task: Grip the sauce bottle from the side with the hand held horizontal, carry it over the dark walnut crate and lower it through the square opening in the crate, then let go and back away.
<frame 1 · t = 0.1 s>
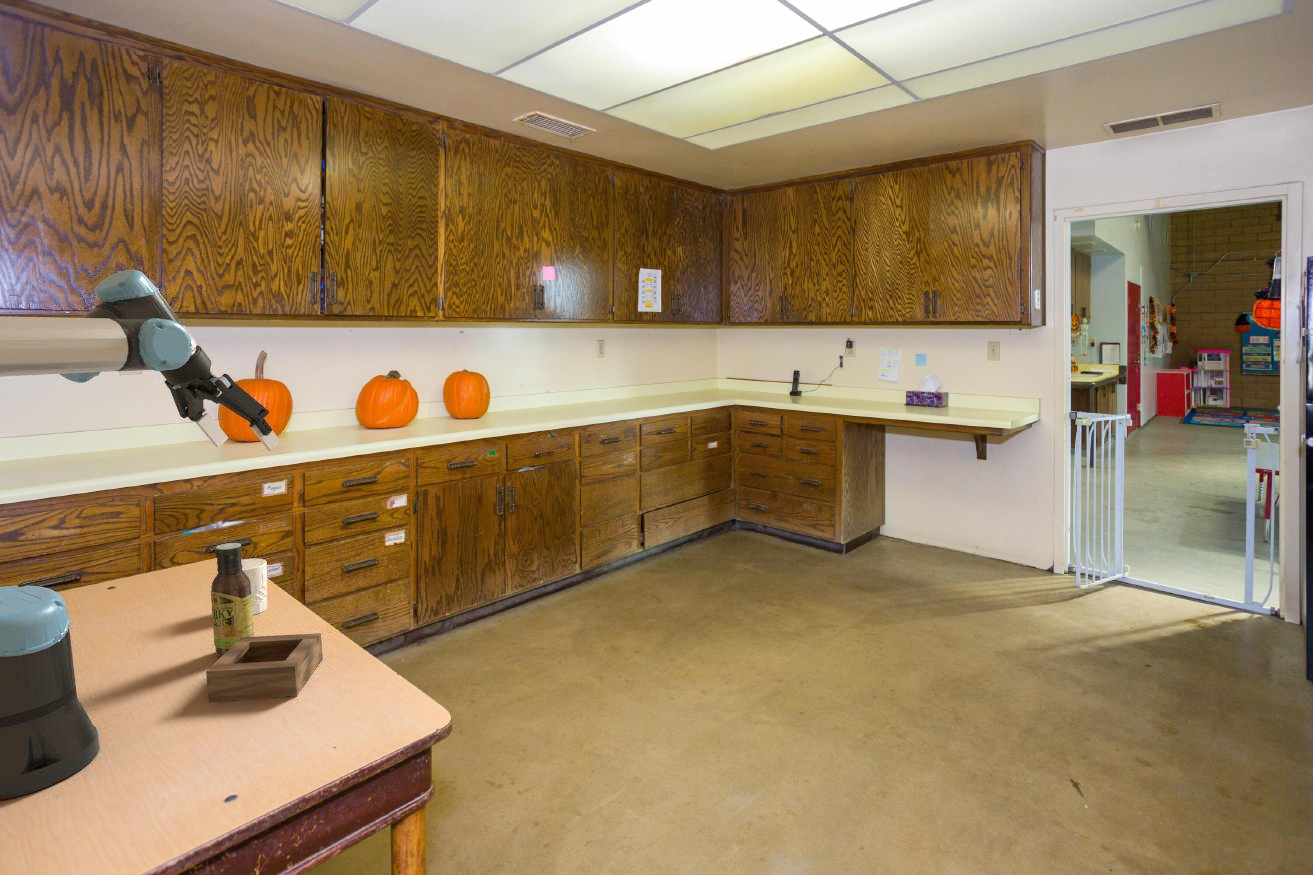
hand: (248, 444, 140), 36 cm above the table, tool tilted 35°, fingers open, 13 cm apart
crate: (269, 679, 121), on the table
white cup: (248, 611, 151), on the table
sauce bottle: (236, 653, 132), on the table
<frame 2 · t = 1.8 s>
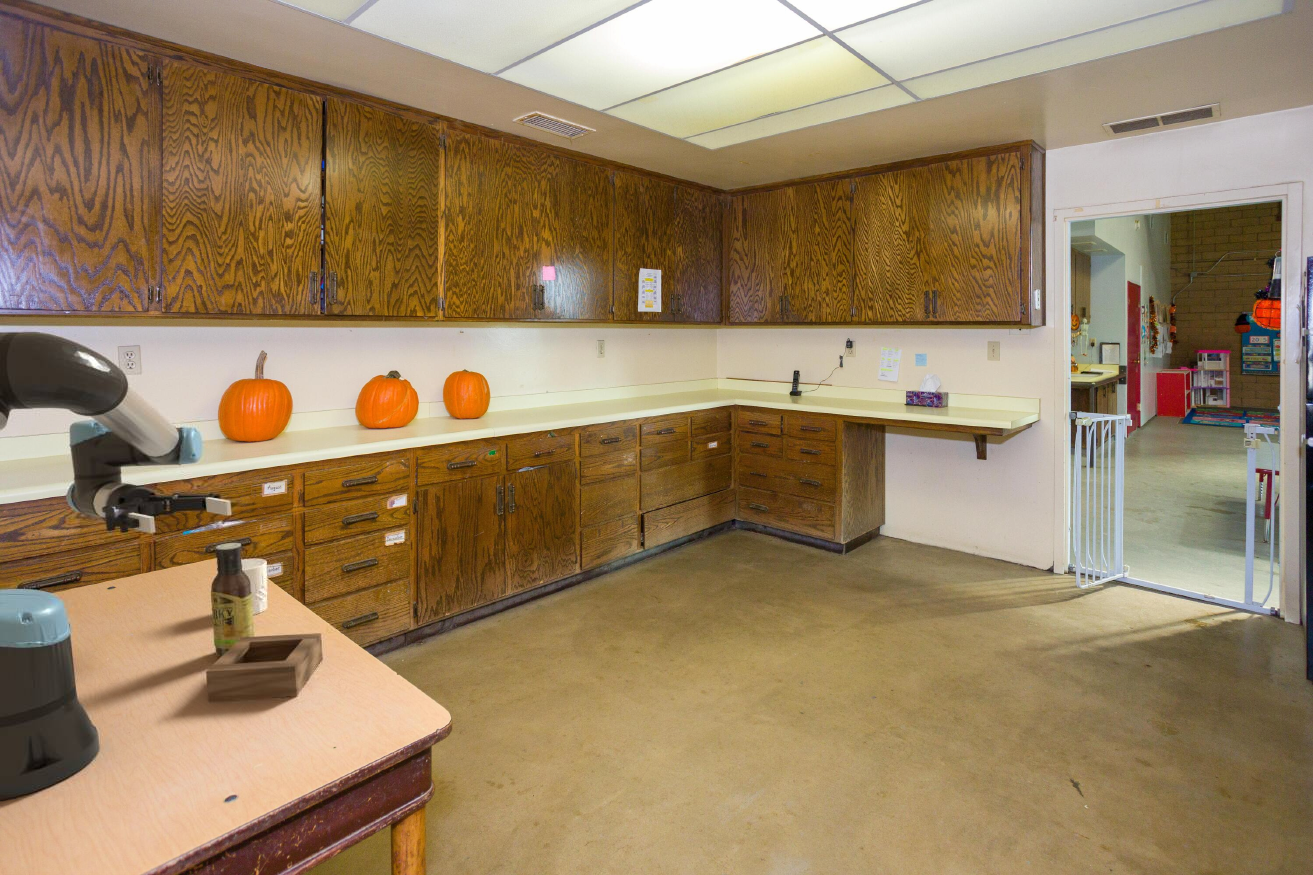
hand: (192, 516, 133), 24 cm above the table, tool horizontal, fingers open, 13 cm apart
nothing on the table moved.
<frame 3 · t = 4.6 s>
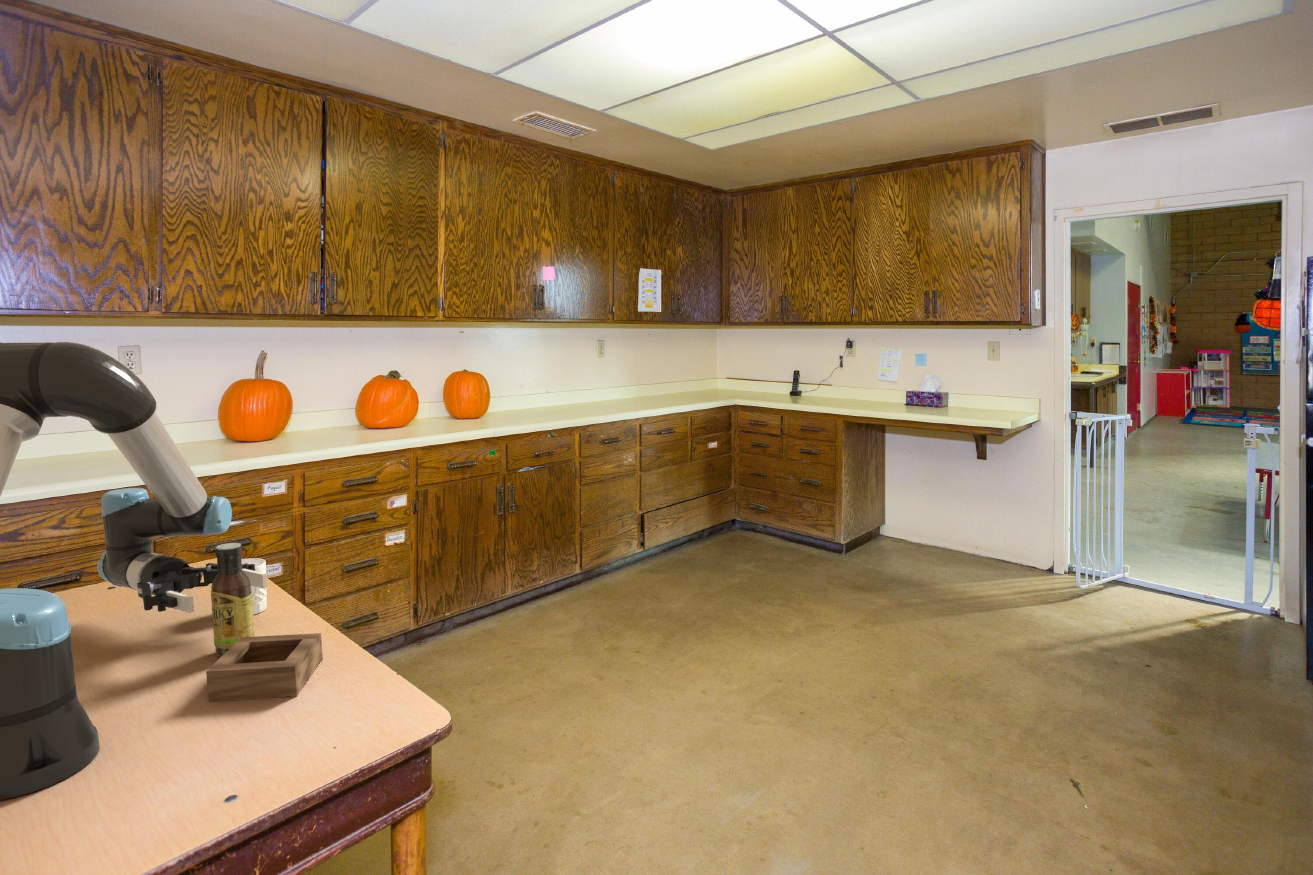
hand: (230, 592, 131), 11 cm above the table, tool horizontal, fingers open, 13 cm apart
nothing on the table moved.
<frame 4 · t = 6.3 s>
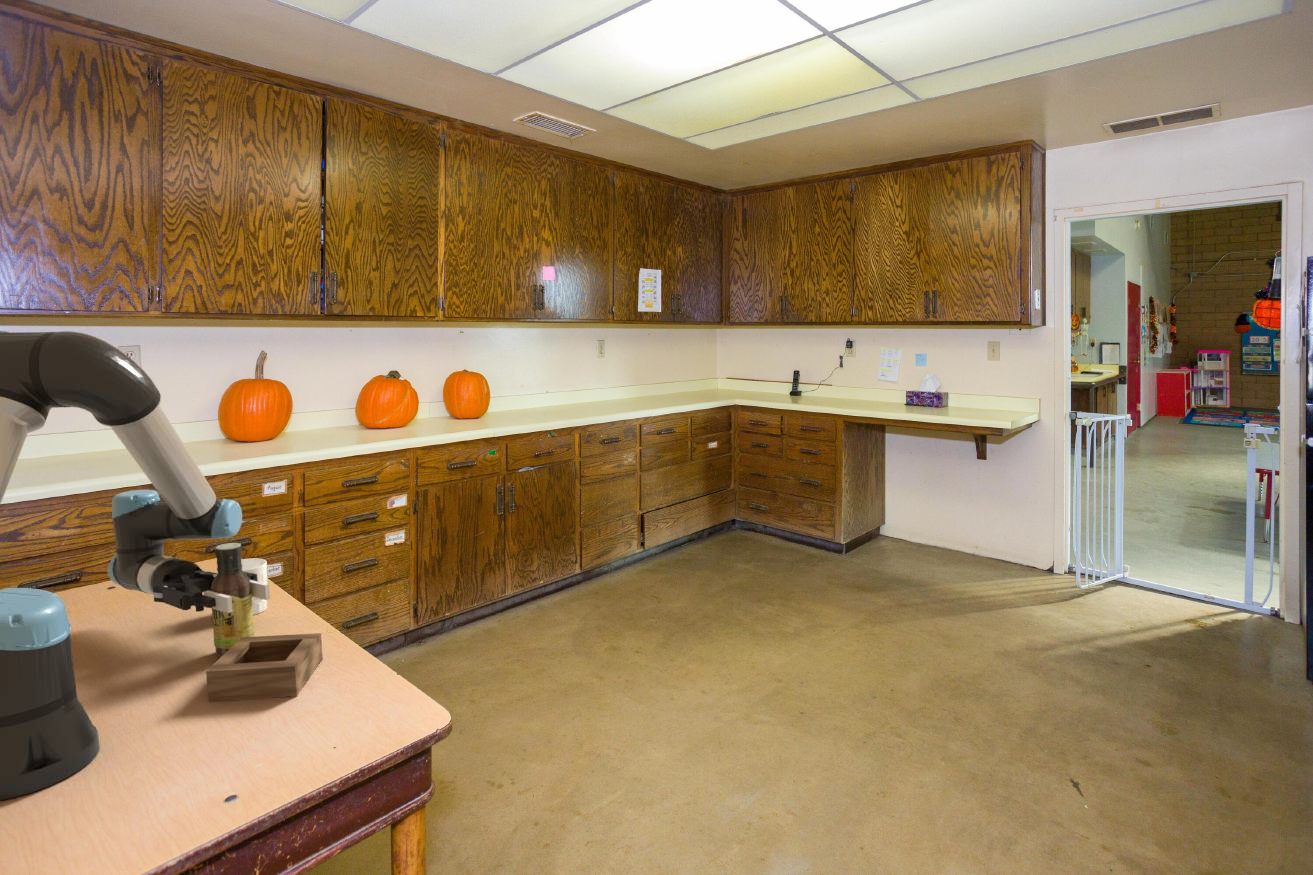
hand: (249, 598, 128), 11 cm above the table, tool horizontal, fingers closed on sauce bottle, 6 cm apart
sauce bottle: (236, 653, 132), on the table, touching gripper
everything else where it was.
when the fingers open (13 cm above the table, at t = 11.1 s): sauce bottle drops 1 cm, resting on crate.
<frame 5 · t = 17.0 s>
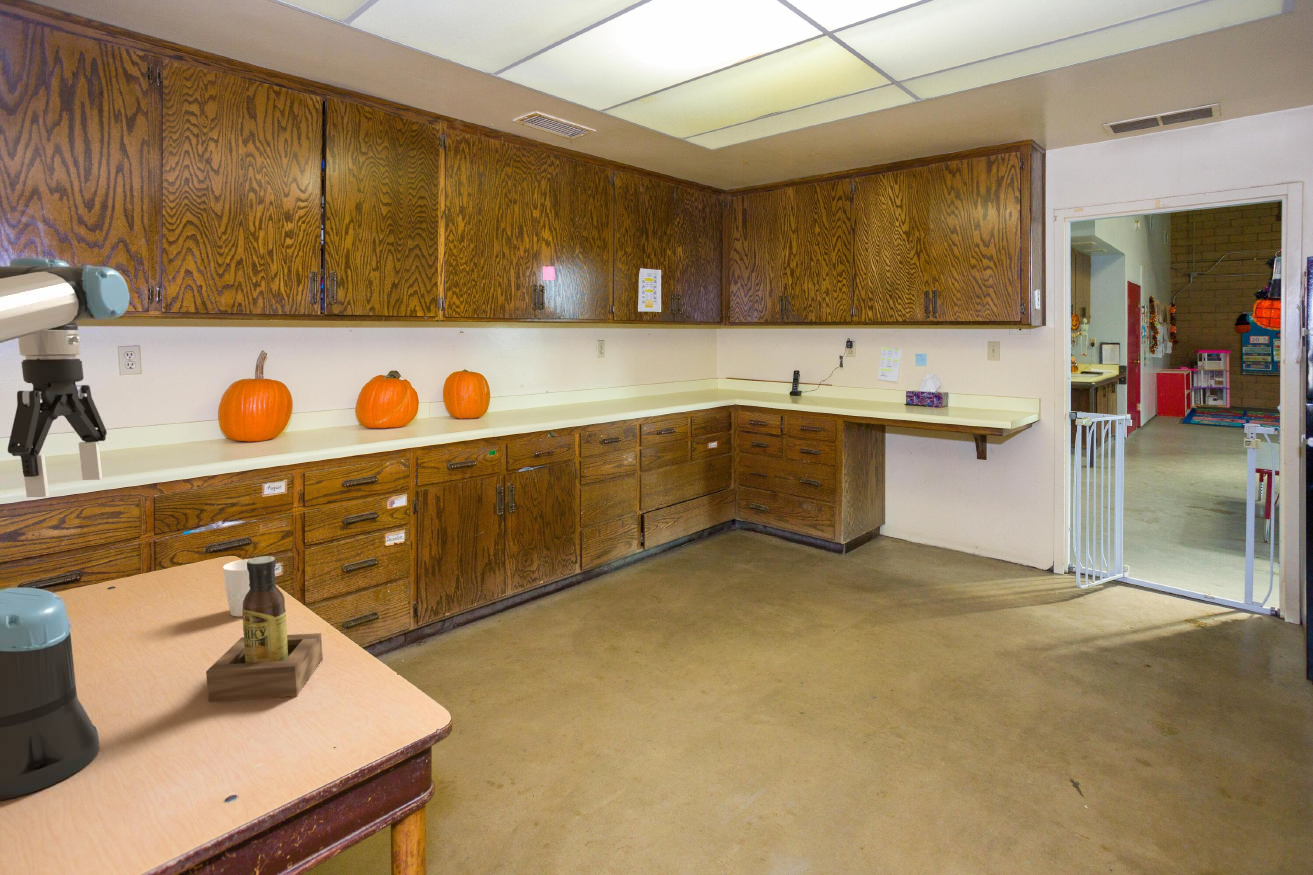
hand: (66, 487, 120), 32 cm above the table, tool pointing down, fingers open, 13 cm apart
sauce bottle: (268, 676, 121), point 1 cm above the table, touching crate
everything else where it was.
at the end: sauce bottle inside the target area on the crate (0.0 cm from its centre), point 0.6 cm above the crate's base; the gripper is holding nothing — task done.
